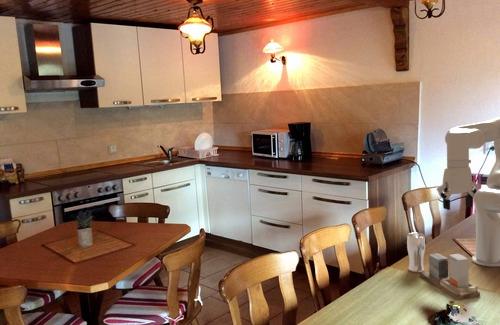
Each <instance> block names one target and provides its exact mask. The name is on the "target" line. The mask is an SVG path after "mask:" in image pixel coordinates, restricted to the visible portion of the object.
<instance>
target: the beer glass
mask: <svg viewBox="0 0 500 325" xmlns="http://www.w3.org/2000/svg"><path fill="white" fill-rule="evenodd" d="M406 237H407V238H406V239H407V241H406V245H407V246H406V248H407V253H408V260H409V264H408V270H409V271H410V272H413V273H420V272H425V267H424V257H425V250H426V240H425V234H423V233H421V232H409V233H407V236H406Z"/></svg>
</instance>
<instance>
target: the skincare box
mask: <svg viewBox="0 0 500 325" xmlns="http://www.w3.org/2000/svg"><path fill="white" fill-rule="evenodd" d="M469 261H470V259H469V258H467V257H466V256H465V255H462V254H460V253H453V254H448V274H449V283H450V284H452V285H453V286H455V287H457V288H458V289H459V288H465V287H469V282H470V281H469V276H470V274H469V273H470V272H469V270H470V269H469V268H470V266H469V265H470V262H469Z"/></svg>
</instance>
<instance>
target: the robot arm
mask: <svg viewBox="0 0 500 325" xmlns="http://www.w3.org/2000/svg"><path fill="white" fill-rule="evenodd" d="M444 138H445V139H444V141H445V143H446V167H445V168H444V171H443V174H442V175H443V176H442V184H441V185H440V186H439V187H437V188H436V191H437V194H438V195H439V196H440V198H441V199H442V206H443V209H444V210H447V211H450V210H451V199H450V198H451V196H452V195H459V194H466V195H465V206H466V207H470V208H473V205H474V210H475V255H472V257H471V261H472V262H473V263H474V264H476V265H479V266H484V267H490V268H491V267H492V268H497V267H500V215H499V214H500V117H495V118H492V119H490V120H485V121H483V122H482V121H481V122H476V123H471V124H465V125H464V124H463V125H460V126H456V127H453V128H450V129H449V130H448V131H446V134H445V136H444ZM492 142H493V149H494V154H495V162H494V165H493V167H492V168H491V170H490V172H489V174H488V176H487V179H486V188H479V186H480V185H479V183H476V182H475V181H473V175H472V170H471V166H470V164H471V163H472V160H471V159H470V149H473V150H475V149H480V148H482V147H483V146H484V145H485V143H492Z"/></svg>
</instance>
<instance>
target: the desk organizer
mask: <svg viewBox="0 0 500 325" xmlns="http://www.w3.org/2000/svg"><path fill="white" fill-rule="evenodd" d="M428 270H429V271H428ZM428 270H427V271H423V272H419V277H421V278H422V279H424V280H425V281H427V282H429V283H430V284H432V286H434V287H436V288H438V289H439V290H441V291H442V292H444V293H445V294H447V295H449V296H450V297H452V298H453V299H455V300H457V301H462V300H466V299H473V298H479V297H481V291H479V290H478V288H479V286H478V285H477V284H475V283H473V282H471V281H469V287H465V288H459V289H458V288H457V287H455V286H453V285H452V284H450V283H449V257H446V256H443V255H442V254H440V253H431V254H430V253H429V254H428Z"/></svg>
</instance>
